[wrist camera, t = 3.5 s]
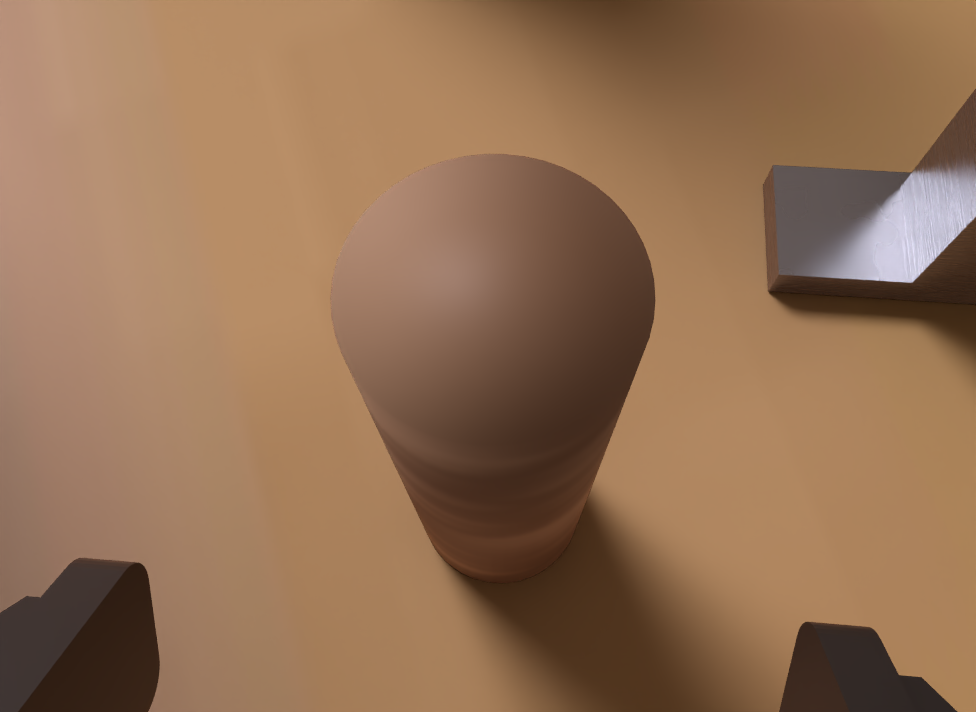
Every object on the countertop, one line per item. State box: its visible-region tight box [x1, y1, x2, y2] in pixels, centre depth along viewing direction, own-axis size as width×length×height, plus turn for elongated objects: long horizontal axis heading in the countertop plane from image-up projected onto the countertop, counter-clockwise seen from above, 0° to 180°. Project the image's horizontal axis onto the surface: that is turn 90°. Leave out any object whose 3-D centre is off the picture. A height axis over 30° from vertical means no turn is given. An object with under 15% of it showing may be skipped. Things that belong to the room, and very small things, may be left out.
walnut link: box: [331, 154, 655, 583], centre depth 16 cm, size 4×4×12 cm
